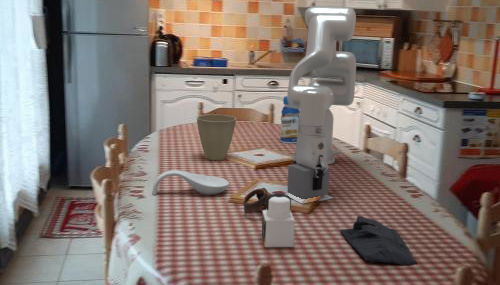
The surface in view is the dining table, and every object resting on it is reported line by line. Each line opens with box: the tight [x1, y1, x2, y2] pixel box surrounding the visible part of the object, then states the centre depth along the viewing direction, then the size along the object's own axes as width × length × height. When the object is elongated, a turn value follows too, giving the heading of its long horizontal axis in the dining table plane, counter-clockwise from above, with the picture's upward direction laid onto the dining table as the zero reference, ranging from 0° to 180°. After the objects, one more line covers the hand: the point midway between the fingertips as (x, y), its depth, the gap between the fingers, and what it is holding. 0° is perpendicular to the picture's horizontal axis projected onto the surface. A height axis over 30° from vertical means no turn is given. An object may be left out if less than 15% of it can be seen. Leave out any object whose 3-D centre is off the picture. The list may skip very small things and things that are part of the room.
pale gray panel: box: [318, 194, 334, 202], centre depth 174 cm, size 12×10×1 cm
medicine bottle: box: [261, 192, 296, 248], centre depth 138 cm, size 7×7×12 cm
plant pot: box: [196, 113, 237, 161], centre depth 215 cm, size 15×15×16 cm
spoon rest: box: [152, 169, 230, 196], centre depth 175 cm, size 24×12×7 cm, turn 100°
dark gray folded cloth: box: [340, 215, 418, 266], centre depth 138 cm, size 15×22×5 cm
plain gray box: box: [286, 163, 331, 199], centre depth 173 cm, size 10×8×9 cm
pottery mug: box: [242, 187, 272, 214], centre depth 159 cm, size 12×10×8 cm
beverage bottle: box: [280, 95, 300, 145], centre depth 246 cm, size 8×8×20 cm
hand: (308, 185), depth 174 cm, fingers closed on plain gray box, 7 cm apart
